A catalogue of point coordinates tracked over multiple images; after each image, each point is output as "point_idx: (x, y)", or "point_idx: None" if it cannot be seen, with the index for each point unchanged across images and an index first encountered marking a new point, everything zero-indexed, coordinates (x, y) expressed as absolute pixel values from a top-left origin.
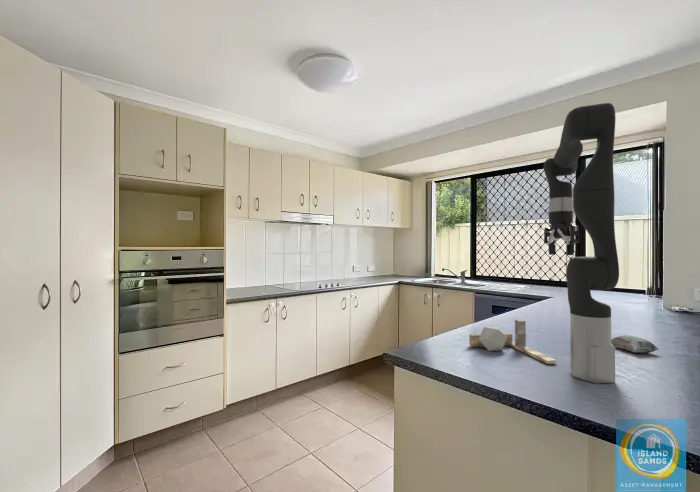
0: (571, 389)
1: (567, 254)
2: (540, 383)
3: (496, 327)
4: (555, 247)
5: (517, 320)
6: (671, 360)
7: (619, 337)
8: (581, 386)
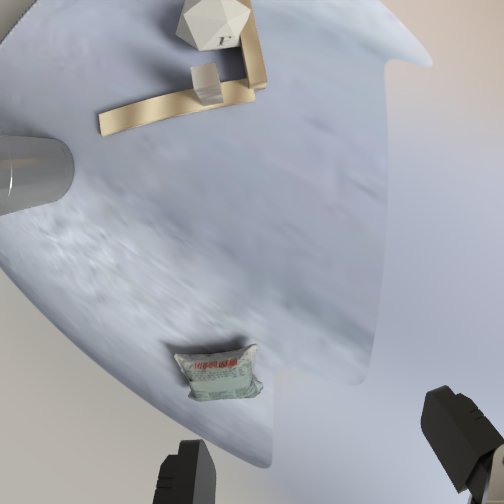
0: (11, 112)
1: (189, 440)
2: (30, 73)
3: (210, 16)
4: (448, 474)
5: (201, 65)
6: (161, 386)
7: (230, 367)
8: (18, 133)
